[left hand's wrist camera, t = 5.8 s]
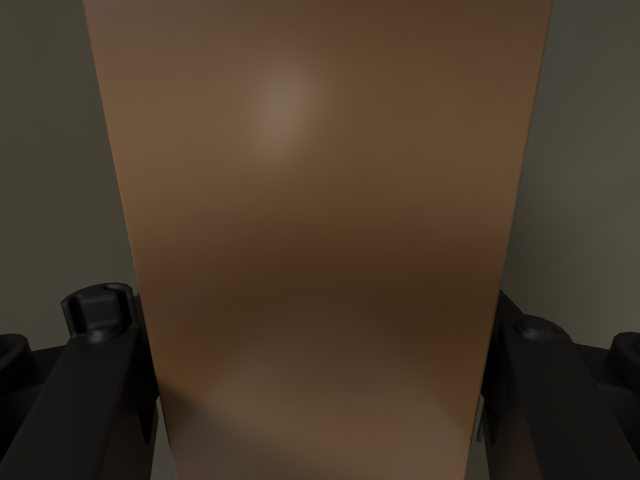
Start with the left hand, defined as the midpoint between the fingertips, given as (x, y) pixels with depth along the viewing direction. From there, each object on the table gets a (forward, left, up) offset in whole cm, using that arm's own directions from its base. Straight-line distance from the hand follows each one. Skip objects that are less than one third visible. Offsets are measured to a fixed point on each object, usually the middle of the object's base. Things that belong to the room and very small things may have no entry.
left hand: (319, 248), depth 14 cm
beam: (+27, +20, -1) cm, 34 cm away
